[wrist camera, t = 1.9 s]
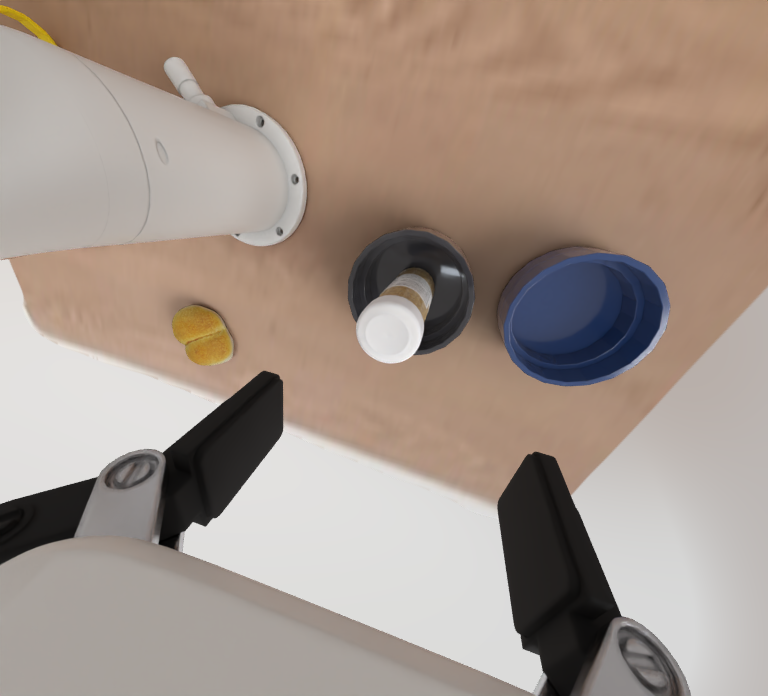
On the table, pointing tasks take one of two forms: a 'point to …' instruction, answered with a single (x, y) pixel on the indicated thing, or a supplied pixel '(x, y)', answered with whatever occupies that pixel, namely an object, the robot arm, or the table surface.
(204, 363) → the bread roll
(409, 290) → the sprinkles bottle
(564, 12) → the table surface
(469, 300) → the charcoal bowl
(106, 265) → the table surface
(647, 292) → the navy bowl
